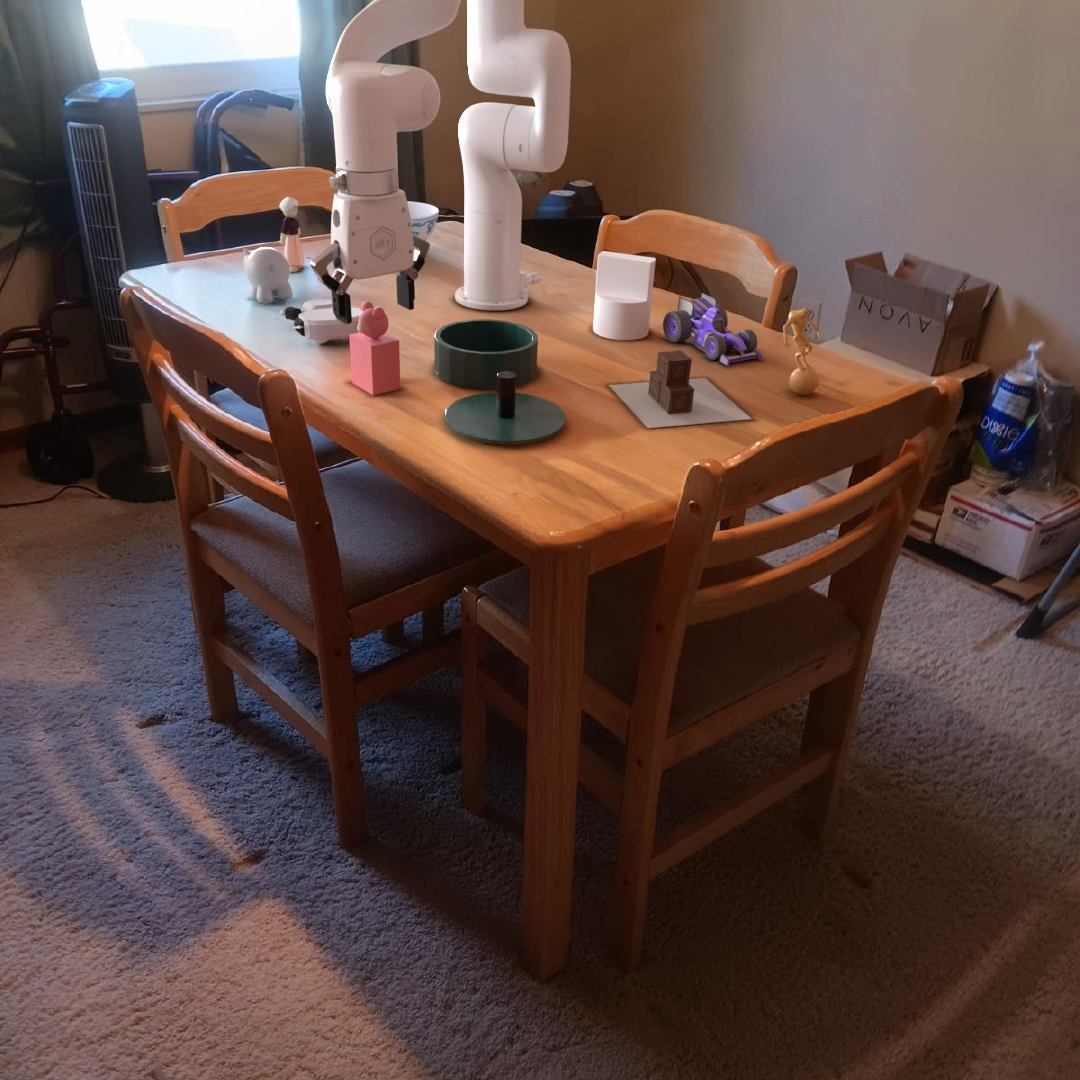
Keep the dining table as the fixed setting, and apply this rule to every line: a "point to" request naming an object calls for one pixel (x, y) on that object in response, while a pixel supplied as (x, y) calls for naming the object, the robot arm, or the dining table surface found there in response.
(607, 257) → the cylinder with rectangular tab
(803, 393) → the figurine
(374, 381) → the pink bear head stamp
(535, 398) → the pot lid
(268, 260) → the toy rhinoceros
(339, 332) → the robot toy
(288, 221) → the grandmother figurine
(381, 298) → the dining table surface
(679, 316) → the toy race car
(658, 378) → the stack of crates
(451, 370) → the pot
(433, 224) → the chinaware
